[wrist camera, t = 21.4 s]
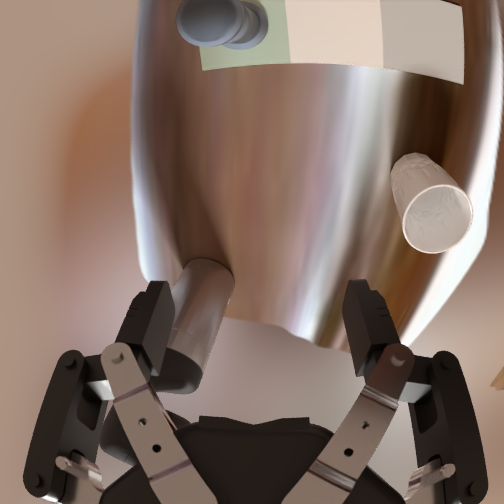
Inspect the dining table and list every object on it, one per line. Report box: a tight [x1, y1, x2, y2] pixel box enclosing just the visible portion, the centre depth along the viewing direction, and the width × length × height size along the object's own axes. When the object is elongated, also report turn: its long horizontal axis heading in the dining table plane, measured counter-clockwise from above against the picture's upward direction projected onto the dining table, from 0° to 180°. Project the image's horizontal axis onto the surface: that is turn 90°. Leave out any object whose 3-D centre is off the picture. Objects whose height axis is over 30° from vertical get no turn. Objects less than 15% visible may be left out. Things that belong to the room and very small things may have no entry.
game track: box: [199, 0, 464, 84], centre depth 22 cm, size 10×30×1 cm, turn 95°
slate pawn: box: [176, 0, 269, 50], centre depth 20 cm, size 6×6×10 cm
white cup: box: [390, 153, 473, 253], centre depth 27 cm, size 8×8×10 cm
